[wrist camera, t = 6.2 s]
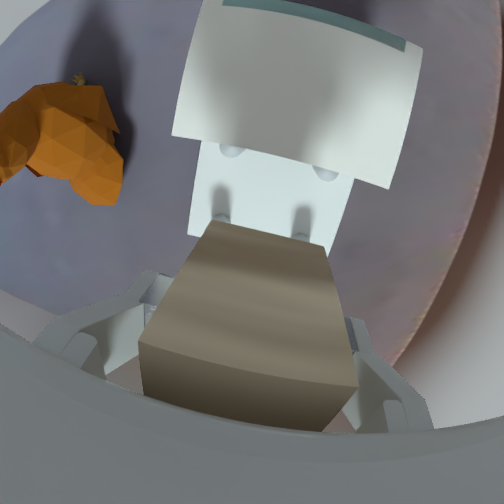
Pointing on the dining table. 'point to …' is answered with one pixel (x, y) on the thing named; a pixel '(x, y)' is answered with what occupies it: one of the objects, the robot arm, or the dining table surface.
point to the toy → (64, 139)
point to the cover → (299, 86)
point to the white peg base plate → (267, 194)
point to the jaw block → (251, 333)
